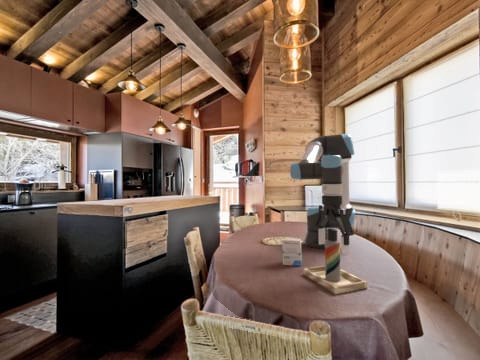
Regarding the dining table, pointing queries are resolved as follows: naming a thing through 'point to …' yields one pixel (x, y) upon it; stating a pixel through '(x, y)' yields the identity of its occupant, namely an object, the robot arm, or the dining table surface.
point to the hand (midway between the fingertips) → (332, 248)
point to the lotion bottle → (332, 256)
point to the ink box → (291, 252)
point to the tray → (342, 286)
